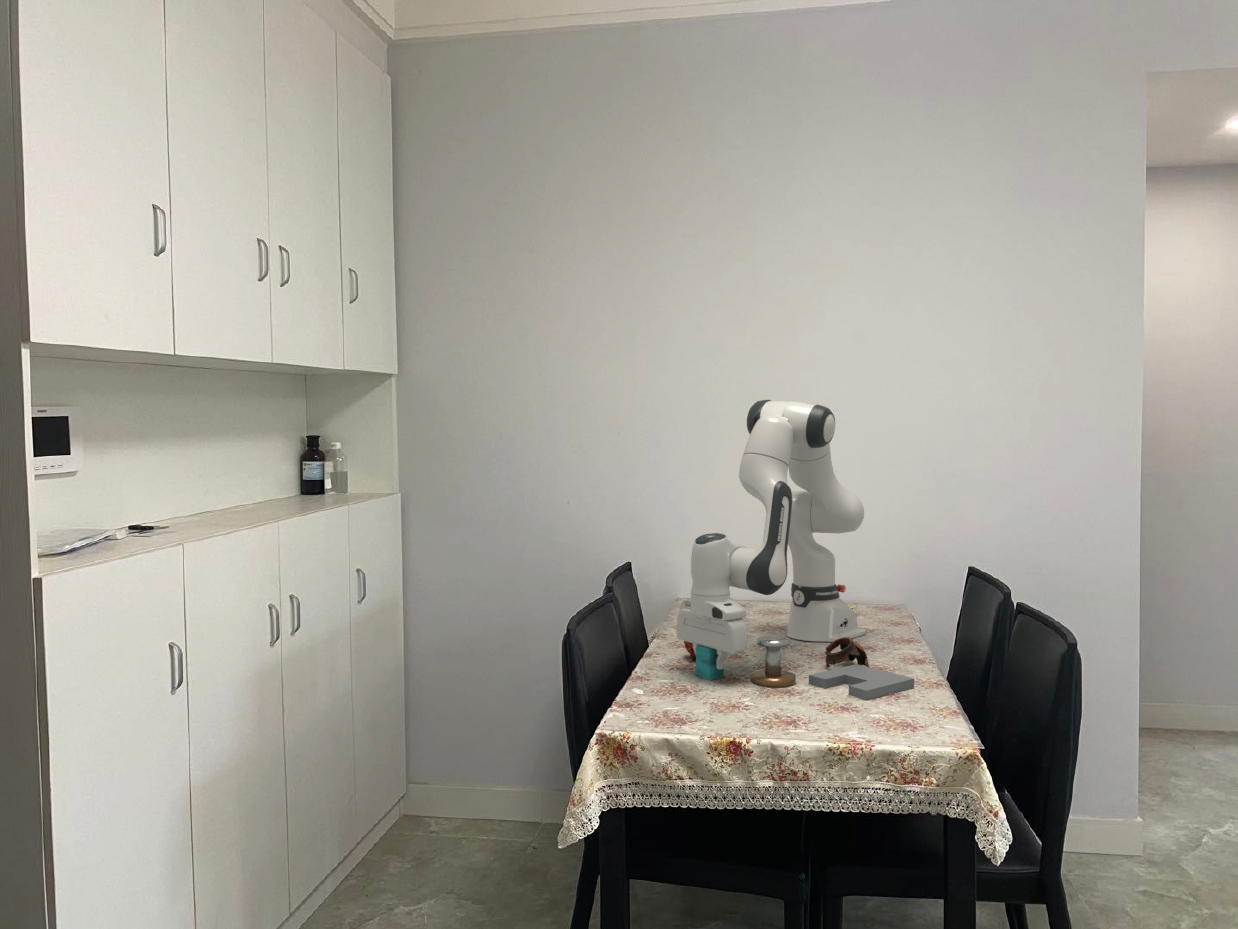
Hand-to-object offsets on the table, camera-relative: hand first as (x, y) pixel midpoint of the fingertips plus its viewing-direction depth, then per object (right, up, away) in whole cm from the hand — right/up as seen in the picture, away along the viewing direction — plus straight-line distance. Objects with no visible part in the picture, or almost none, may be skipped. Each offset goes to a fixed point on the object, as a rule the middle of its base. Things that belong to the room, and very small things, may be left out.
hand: (710, 666), depth 227 cm
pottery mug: (+33, -2, +8) cm, 34 cm away
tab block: (0, -2, 0) cm, 2 cm away
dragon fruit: (0, -2, +17) cm, 17 cm away
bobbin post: (+14, -3, -5) cm, 15 cm away
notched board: (+32, -3, -8) cm, 34 cm away
